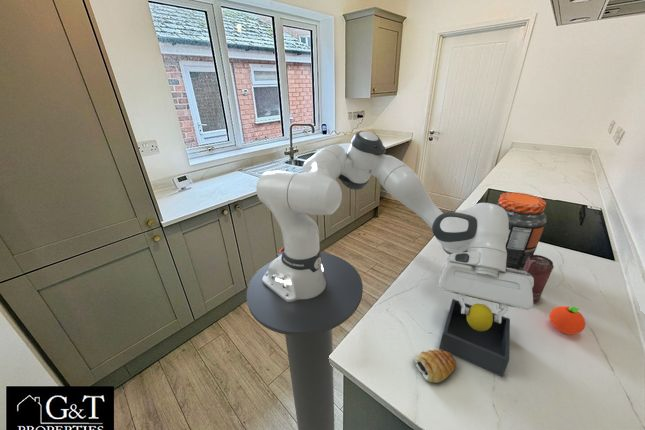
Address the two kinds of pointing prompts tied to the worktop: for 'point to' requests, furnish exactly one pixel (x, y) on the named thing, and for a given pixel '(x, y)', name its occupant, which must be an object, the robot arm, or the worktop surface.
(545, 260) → the dark red glass cylinder
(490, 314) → the lemon
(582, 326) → the clementine
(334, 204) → the robot arm
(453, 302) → the bin
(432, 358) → the pastry
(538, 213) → the supplement tub
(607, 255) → the worktop surface
